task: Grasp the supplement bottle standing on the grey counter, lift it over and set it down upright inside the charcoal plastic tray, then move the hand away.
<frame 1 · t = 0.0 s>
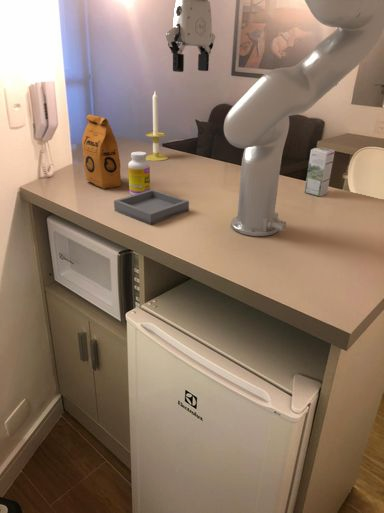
hand: (191, 71, 108), 37 cm above the worktop, tool pointing down, fingers open, 9 cm apart
tray: (151, 210, 120), on the worktop
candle: (156, 158, 175), on the worktop
coffee package: (103, 184, 141), on the worktop
syrup box: (315, 193, 138), on the worktop
supplement bottle: (139, 194, 133), on the worktop
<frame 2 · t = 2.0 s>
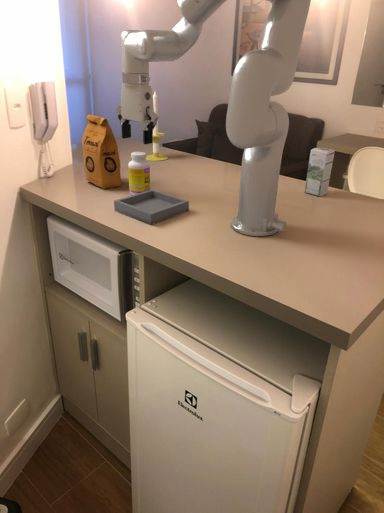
hand: (137, 140, 126), 17 cm above the worktop, tool pointing down, fingers open, 9 cm apart
nothing on the worktop moved.
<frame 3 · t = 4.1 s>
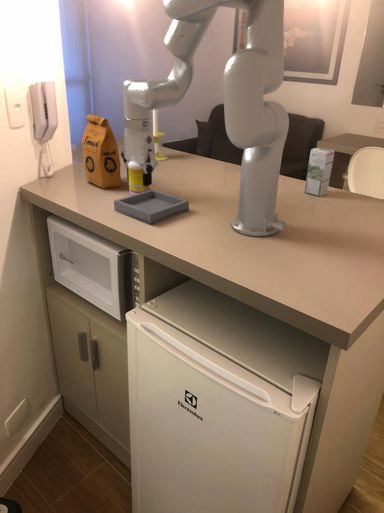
hand: (139, 182, 131), 4 cm above the worktop, tool pointing down, fingers closed on supplement bottle, 6 cm apart
supplement bottle: (139, 194, 133), on the worktop, touching gripper
everything else where it was.
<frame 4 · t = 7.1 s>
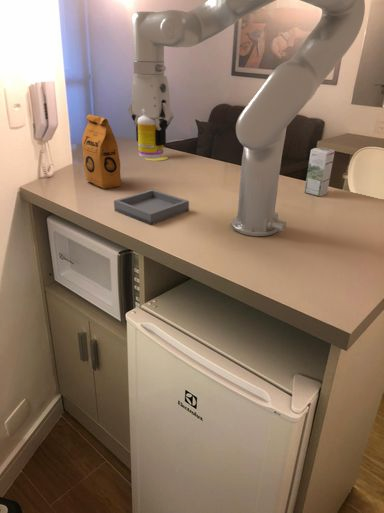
hand: (151, 142, 111), 19 cm above the worktop, tool pointing down, fingers closed on supplement bottle, 6 cm apart
supplement bottle: (151, 157, 113), point 15 cm above the worktop, touching gripper
everything else where it was.
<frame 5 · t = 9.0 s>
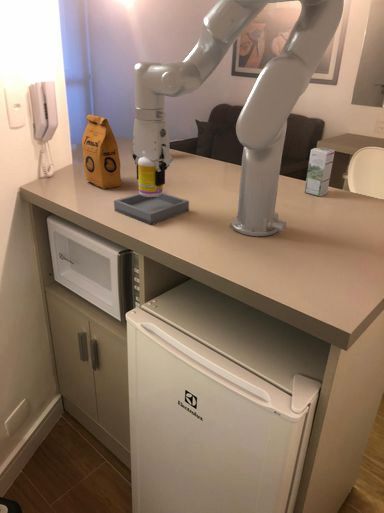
hand: (150, 181, 116), 9 cm above the worktop, tool pointing down, fingers closed on supplement bottle, 6 cm apart
supplement bottle: (150, 194, 117), point 5 cm above the worktop, touching gripper
everything else where it was.
when the fingers open (6 cm above the worktop, at t = 10.5 s): supplement bottle drops 1 cm, resting on tray.
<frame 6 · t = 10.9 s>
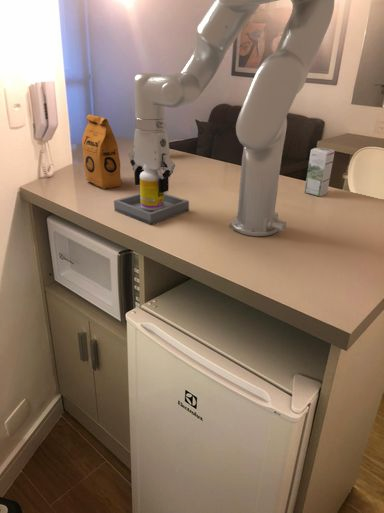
hand: (151, 187, 116), 7 cm above the worktop, tool pointing down, fingers open, 9 cm apart
supplement bottle: (152, 208, 119), point 1 cm above the worktop, touching tray
everything else where it was.
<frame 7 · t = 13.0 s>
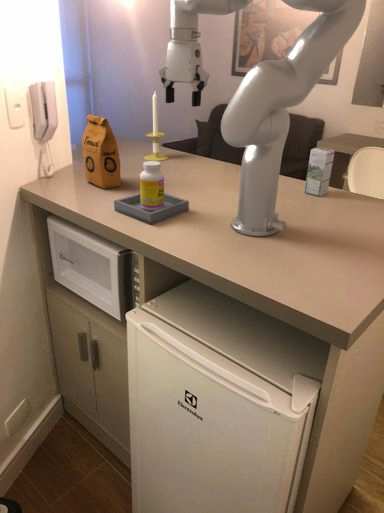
hand: (182, 104, 119), 28 cm above the worktop, tool pointing down, fingers open, 9 cm apart
nothing on the worktop moved.
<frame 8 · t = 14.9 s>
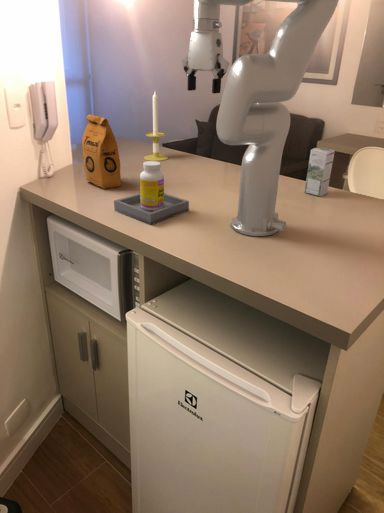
hand: (203, 91, 126), 30 cm above the worktop, tool pointing down, fingers open, 9 cm apart
nothing on the worktop moved.
at the end: supplement bottle inside the target area on the tray (0.2 cm from its centre), point 0.8 cm above the tray's base; supplement bottle tilted 0°; the gripper is holding nothing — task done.
